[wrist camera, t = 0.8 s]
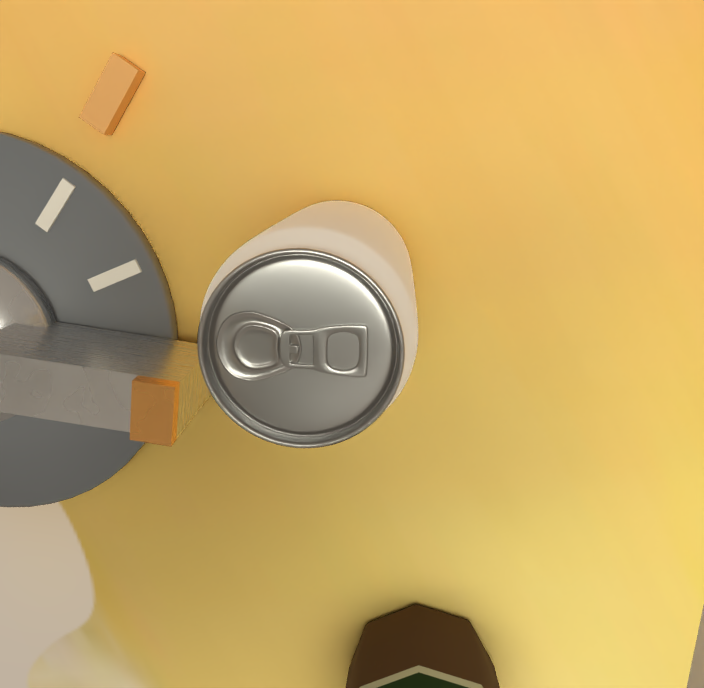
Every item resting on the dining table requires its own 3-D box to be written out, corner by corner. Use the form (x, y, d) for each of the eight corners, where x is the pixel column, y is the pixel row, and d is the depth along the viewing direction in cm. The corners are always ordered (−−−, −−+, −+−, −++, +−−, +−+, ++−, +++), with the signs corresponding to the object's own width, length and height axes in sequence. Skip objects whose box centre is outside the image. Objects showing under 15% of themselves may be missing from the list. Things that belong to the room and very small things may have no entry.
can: (265, 197, 28) (173, 228, 17) (414, 200, 28) (427, 234, 16) (268, 340, 30) (187, 458, 18) (409, 345, 30) (416, 467, 18)
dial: (-106, 402, 31) (-205, 452, 26) (-118, 234, 28) (-231, 251, 23) (205, 451, 30) (167, 511, 25) (218, 284, 28) (179, 313, 23)
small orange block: (111, 135, 28) (103, 134, 27) (87, 118, 28) (78, 117, 27) (145, 72, 27) (138, 70, 26) (120, 55, 27) (112, 52, 26)
